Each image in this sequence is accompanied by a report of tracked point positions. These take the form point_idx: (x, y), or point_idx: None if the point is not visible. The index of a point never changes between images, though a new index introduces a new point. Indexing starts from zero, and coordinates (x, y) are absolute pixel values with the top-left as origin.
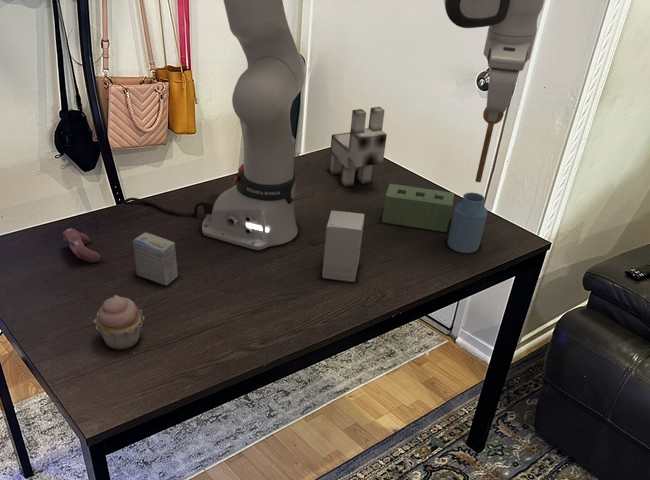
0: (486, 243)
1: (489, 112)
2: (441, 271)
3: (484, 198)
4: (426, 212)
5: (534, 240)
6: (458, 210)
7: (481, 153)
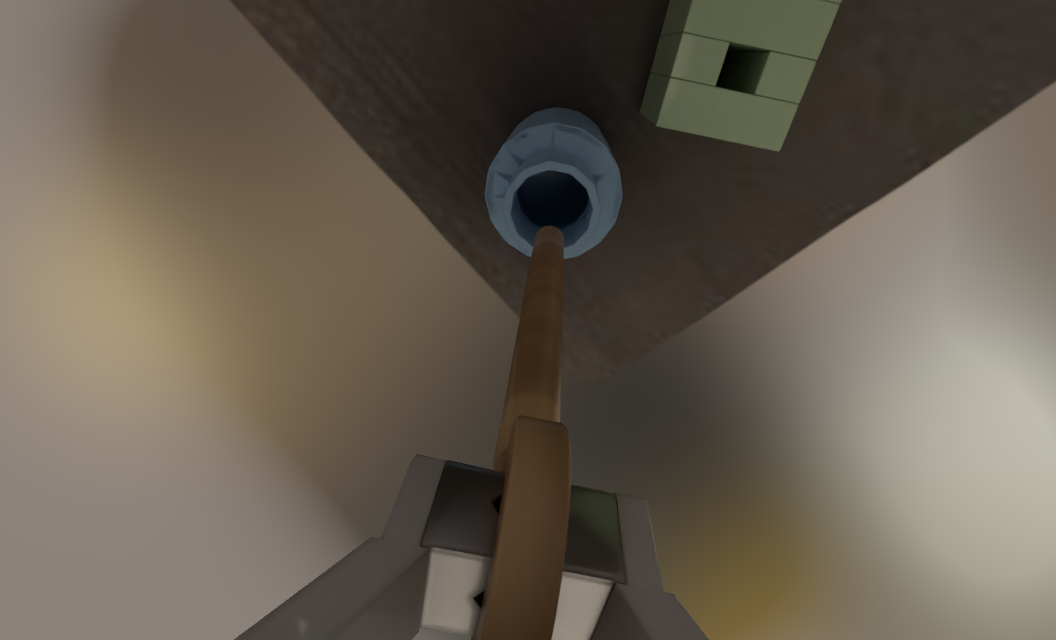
0: None
1: (385, 535)
2: (371, 64)
3: None
4: (679, 10)
5: (602, 374)
6: (538, 138)
7: (544, 287)
